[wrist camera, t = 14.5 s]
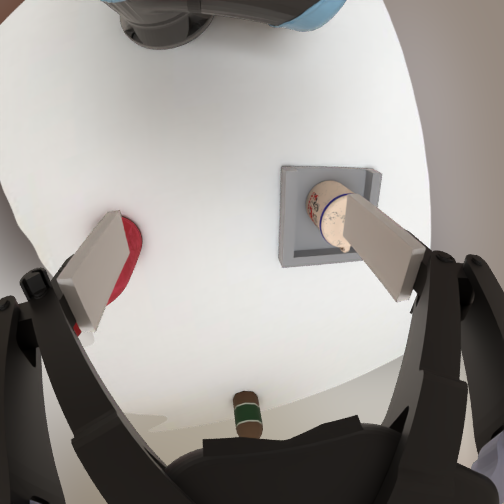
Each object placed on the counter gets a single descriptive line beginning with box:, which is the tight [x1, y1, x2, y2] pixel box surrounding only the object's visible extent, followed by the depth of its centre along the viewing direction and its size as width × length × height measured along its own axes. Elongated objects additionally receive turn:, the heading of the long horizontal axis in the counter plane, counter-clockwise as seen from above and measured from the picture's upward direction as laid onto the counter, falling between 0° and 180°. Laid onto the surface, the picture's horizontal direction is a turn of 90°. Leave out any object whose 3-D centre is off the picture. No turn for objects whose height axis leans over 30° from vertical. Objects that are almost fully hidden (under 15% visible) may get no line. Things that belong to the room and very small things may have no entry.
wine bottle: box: [73, 217, 142, 336], centre depth 35 cm, size 10×10×30 cm
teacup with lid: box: [306, 180, 355, 253], centre depth 44 cm, size 12×9×12 cm
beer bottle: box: [233, 391, 263, 439], centre depth 68 cm, size 8×8×24 cm
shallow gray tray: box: [279, 167, 382, 268], centre depth 49 cm, size 18×18×4 cm
